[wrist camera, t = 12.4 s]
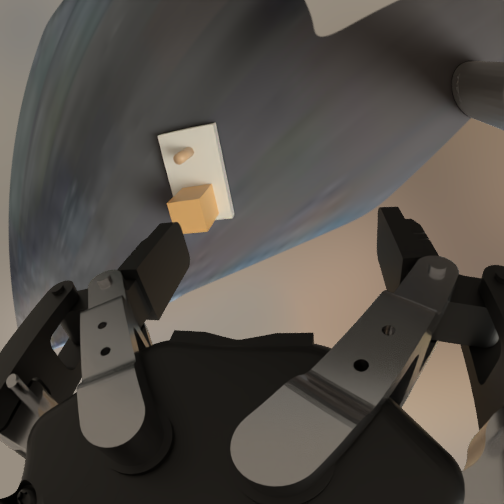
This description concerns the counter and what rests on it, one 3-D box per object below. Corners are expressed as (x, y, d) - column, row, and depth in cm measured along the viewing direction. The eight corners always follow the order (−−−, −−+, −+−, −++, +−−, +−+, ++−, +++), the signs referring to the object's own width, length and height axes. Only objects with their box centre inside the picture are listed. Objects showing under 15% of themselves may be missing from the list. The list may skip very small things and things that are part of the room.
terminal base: (215, 122, 42) (203, 128, 37) (234, 214, 49) (226, 230, 44) (161, 133, 44) (144, 141, 39) (183, 219, 51) (171, 234, 47)
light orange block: (211, 183, 45) (199, 198, 40) (218, 213, 48) (207, 231, 43) (182, 188, 46) (166, 203, 41) (190, 216, 49) (176, 234, 44)
